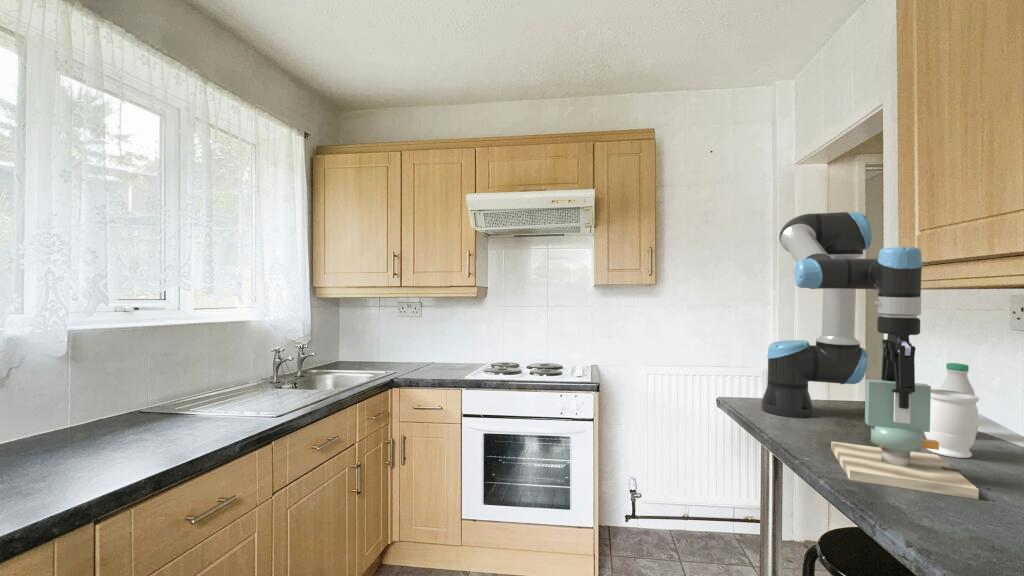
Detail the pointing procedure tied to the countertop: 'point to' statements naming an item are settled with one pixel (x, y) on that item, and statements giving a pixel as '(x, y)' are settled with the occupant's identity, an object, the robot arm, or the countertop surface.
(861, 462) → the base
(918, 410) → the mint bar with ball
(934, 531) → the countertop surface
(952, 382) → the milk bottle
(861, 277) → the robot arm
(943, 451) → the jar
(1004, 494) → the countertop surface
